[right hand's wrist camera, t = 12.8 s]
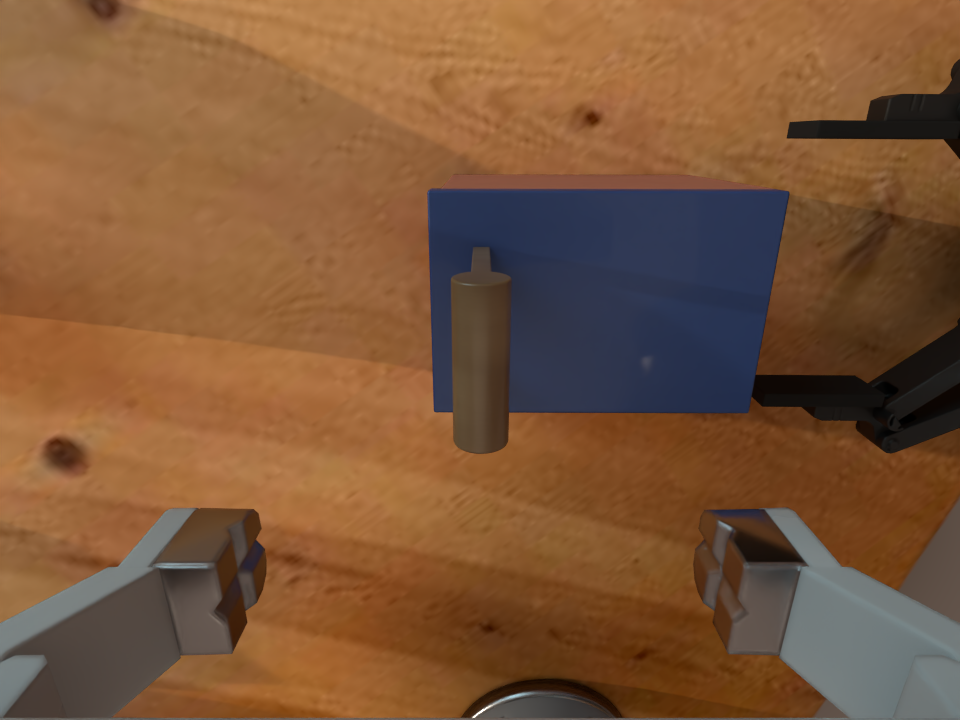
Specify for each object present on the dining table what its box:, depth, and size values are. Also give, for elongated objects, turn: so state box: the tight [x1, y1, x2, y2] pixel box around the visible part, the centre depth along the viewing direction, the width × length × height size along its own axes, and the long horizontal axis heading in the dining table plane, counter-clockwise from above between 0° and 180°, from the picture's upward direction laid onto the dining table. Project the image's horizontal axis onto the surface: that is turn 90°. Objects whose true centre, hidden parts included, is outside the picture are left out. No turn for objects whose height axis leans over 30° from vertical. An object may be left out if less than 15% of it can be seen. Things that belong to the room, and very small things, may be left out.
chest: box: [441, 175, 772, 189], centre depth 31 cm, size 14×10×11 cm
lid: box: [427, 189, 789, 454], centre depth 22 cm, size 14×10×8 cm
